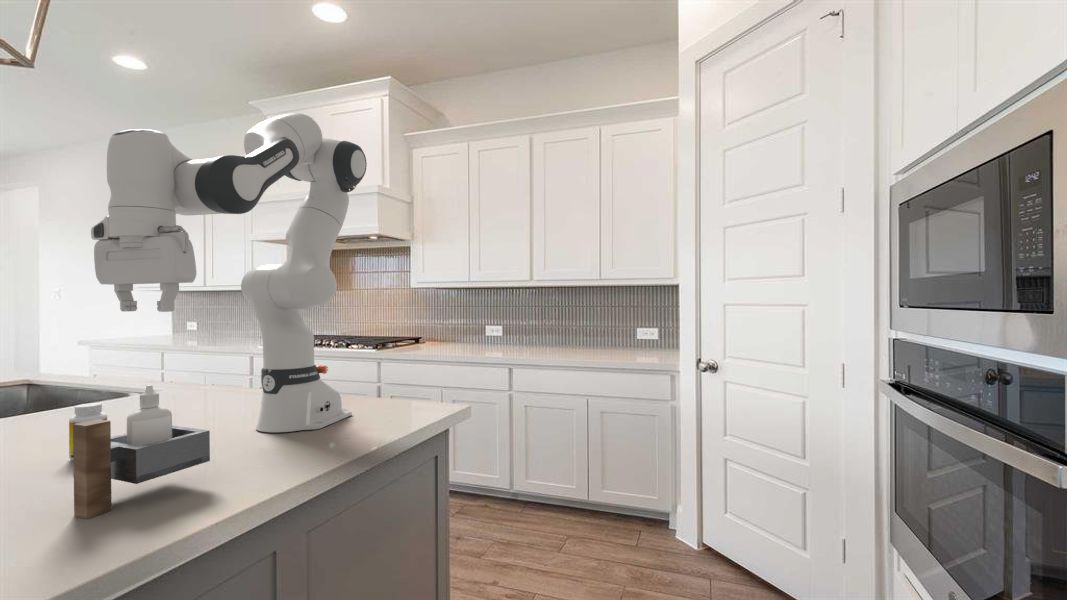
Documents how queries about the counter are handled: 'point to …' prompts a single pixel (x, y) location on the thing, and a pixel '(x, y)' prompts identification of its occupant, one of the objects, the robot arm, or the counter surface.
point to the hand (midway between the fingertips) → (147, 311)
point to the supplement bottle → (84, 419)
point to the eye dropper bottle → (149, 421)
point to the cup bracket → (127, 461)
